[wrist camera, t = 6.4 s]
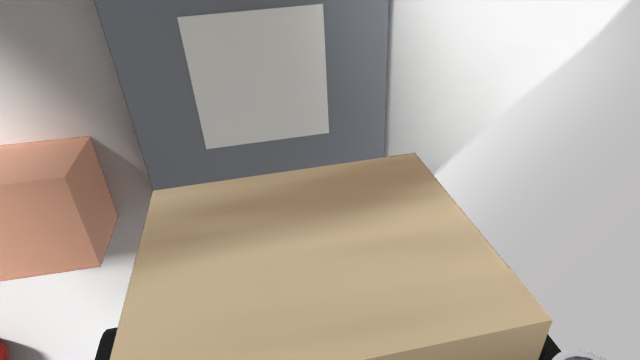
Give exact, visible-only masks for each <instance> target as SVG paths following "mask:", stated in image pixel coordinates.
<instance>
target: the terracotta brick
mask: <svg viewBox="0 0 640 360" xmlns="http://www.w3.org/2000/svg"><path fill="white" fill-rule="evenodd" d="M117 219H118V215H117V212H116V209H115V206H114V203H113V200H112V198H111V195H110V192H109V189H108V186H107V183H106V180H105V177H104V175H103V172H102V169H101V166H100V163H99V160H98V157H97V155H96V152H95V149H94V146H93V143H92V140H91V137H90V136H86V137H76V138H67V139H57V140H47V141H38V142H28V143H18V144H8V145H0V281H7V280H14V279H20V278H27V277H34V276H41V275H48V274H54V273H61V272H68V271H75V270H82V269H88V268H95V267H101V264H102V261H103V259H104V256H105V253H106V250H107V247H108V245H109V242H110V239H111V236H112V233H113V230H114V228H115V225H116V222H117Z"/></svg>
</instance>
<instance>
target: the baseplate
mask: <svg viewBox="0 0 640 360" xmlns="http://www.w3.org/2000/svg"><path fill="white" fill-rule="evenodd" d="M94 2H95V5H96V8H97V11H98V14H99V18H100V21H101V24H102V27H103V30H104V34H105V37H106V40H107V43H108V46H109V49H110V53H111V56H112V59H113V62H114V65H115V69H116V72H117V75H118V78H119V81H120V85H121V88H122V91H123V94H124V97H125V100H126V104H127V107H128V110H129V113H130V116H131V120H132V123H133V126H134V129H135V132H136V135H137V139H138V142H139V145H140V148H141V151H142V155H143V158H144V161H145V164H146V167H147V170H148V174H149V177H150V180H151V183H152V186H153V190H154V191H155V190H162V189H169V188H176V187H183V186H189V185H196V184H203V183H210V182H217V181H224V180H231V179H238V178H245V177H252V176H259V175H266V174H273V173H279V172H286V171H293V170H300V169H307V168H314V167H321V166H328V165H335V164H342V163H349V162H356V161H362V160H369V159H376V158H383V157H384V141H385V108H386V75H387V42H388V9H389V0H94Z"/></svg>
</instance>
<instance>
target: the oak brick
mask: <svg viewBox="0 0 640 360" xmlns="http://www.w3.org/2000/svg"><path fill="white" fill-rule="evenodd" d="M551 323H552V318H551V317H550V316H549V315H548V314H547V312H546V311H545V310H544V309H543V308H542V306H541V305H540V304H539V303H538V302H537V300H536V299H535V298H534V297H533V296H532V294H531V293H530V292H529V291H528V290H527V288H526V287H525V286H524V285H523V283H522V282H521V281H520V280H519V279H518V277H517V276H516V275H515V274H514V272H513V271H512V270H511V269H510V268H509V267H508V265H507V264H506V263H505V262H504V260H503V259H502V258H501V257H500V256H499V255H498V253H497V252H496V251H495V250H494V248H493V247H492V246H491V245H490V243H489V242H488V241H487V240H486V239H485V237H484V236H483V235H482V234H481V233H480V231H479V230H478V229H477V228H476V227H475V225H474V224H473V223H472V222H471V220H470V219H469V218H468V217H467V216H466V215H465V213H464V212H463V211H462V210H461V208H460V207H459V206H458V205H457V203H456V202H455V201H454V200H453V199H452V198H451V196H450V195H449V194H448V193H447V191H446V190H445V189H444V188H443V186H442V185H441V184H440V183H439V182H438V180H437V179H436V178H435V177H434V176H433V174H432V173H431V172H430V171H429V170H428V168H427V167H426V166H425V165H424V163H423V162H422V161H421V160H420V159H419V157H418V156H417V155H416V154H415V153H411V154H404V155H397V156H390V157H383V158H376V159H369V160H362V161H356V162H349V163H342V164H335V165H328V166H321V167H314V168H307V169H300V170H293V171H286V172H279V173H273V174H266V175H259V176H252V177H245V178H238V179H231V180H224V181H217V182H210V183H203V184H196V185H189V186H183V187H176V188H169V189H162V190H155V191H153V192H152V196H151V200H150V204H149V208H148V212H147V216H146V220H145V224H144V228H143V231H142V235H141V239H140V243H139V247H138V251H137V255H136V259H135V263H134V267H133V271H132V274H131V278H130V282H129V286H128V290H127V294H126V298H125V302H124V306H123V310H122V314H121V317H120V321H119V325H118V329H117V333H116V337H115V341H114V345H113V349H112V353H111V356H110V360H538V359H539V356H540V354H541V351H542V348H543V345H544V342H545V340H546V337H547V334H548V331H549V328H550V326H551Z"/></svg>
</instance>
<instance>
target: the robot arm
mask: <svg viewBox="0 0 640 360" xmlns="http://www.w3.org/2000/svg"><path fill="white" fill-rule="evenodd" d="M117 329H118V328H112V329H108V330H106V331H105V332H104V333H103V335H102V338H101V340H100V344H99V347H98V350H97V354H96V357H95V360H110V356H111V353H112V349H113V345H114V341H115V337H116V333H117ZM538 360H606V359H604V358H602V357H599V356H597V355H595V354H593V353H590V352H586V351H582V350H566V351H563V352H561V351H560V349H559V348H558V347H557V345H556V344H555V343H554V342H553V340H552V339H551V338H550V337H549V335H548V334H547V337H546V340H545V342H544V345H543V348H542V351H541V354H540V356H539V359H538Z"/></svg>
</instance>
